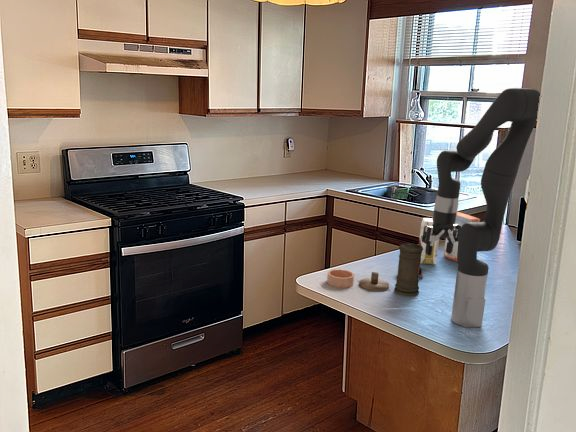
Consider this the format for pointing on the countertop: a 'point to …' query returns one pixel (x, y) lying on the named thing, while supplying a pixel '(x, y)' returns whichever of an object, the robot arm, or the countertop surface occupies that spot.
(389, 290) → the mat
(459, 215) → the cracker box
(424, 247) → the juice carton
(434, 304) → the countertop surface
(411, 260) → the container
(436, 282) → the countertop surface
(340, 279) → the bowl
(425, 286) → the countertop surface
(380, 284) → the lid
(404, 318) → the countertop surface
